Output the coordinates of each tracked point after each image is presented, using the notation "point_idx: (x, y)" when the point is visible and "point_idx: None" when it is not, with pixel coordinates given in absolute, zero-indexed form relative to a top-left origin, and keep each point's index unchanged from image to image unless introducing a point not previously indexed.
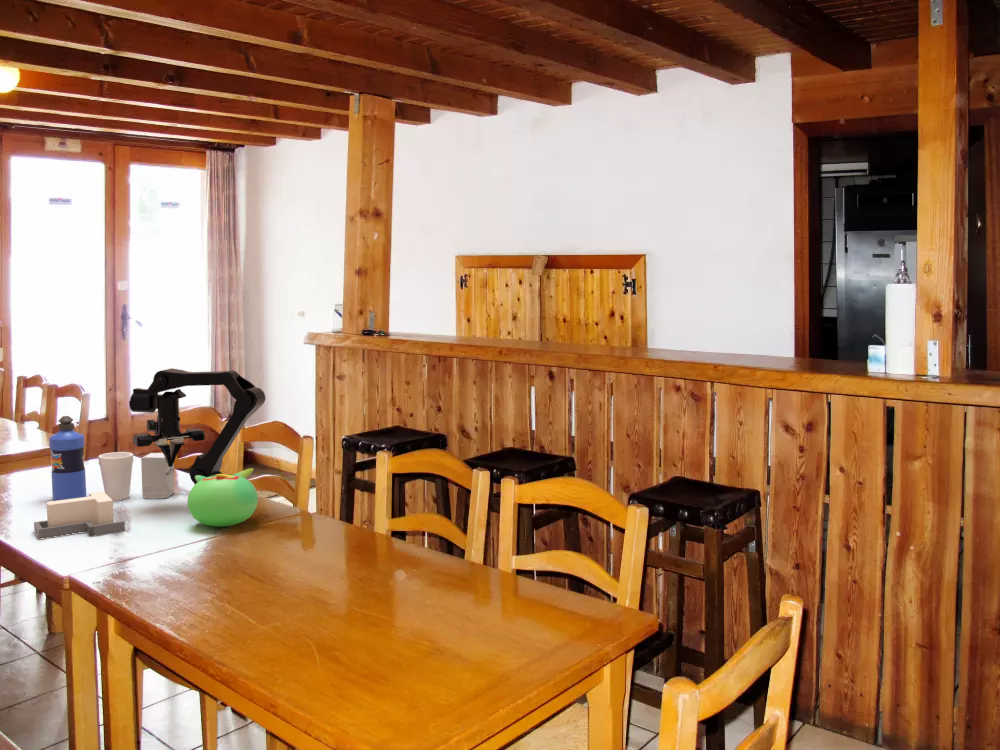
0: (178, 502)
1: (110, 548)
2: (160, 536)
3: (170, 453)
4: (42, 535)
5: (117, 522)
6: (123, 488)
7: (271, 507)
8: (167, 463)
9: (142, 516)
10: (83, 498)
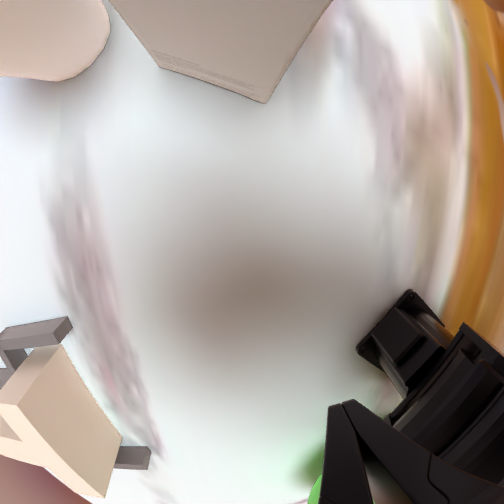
0: (316, 194)
1: (152, 499)
2: (235, 487)
3: (395, 497)
4: None
5: (131, 467)
6: (62, 60)
7: (498, 341)
8: (327, 434)
9: (172, 359)
10: (17, 449)
